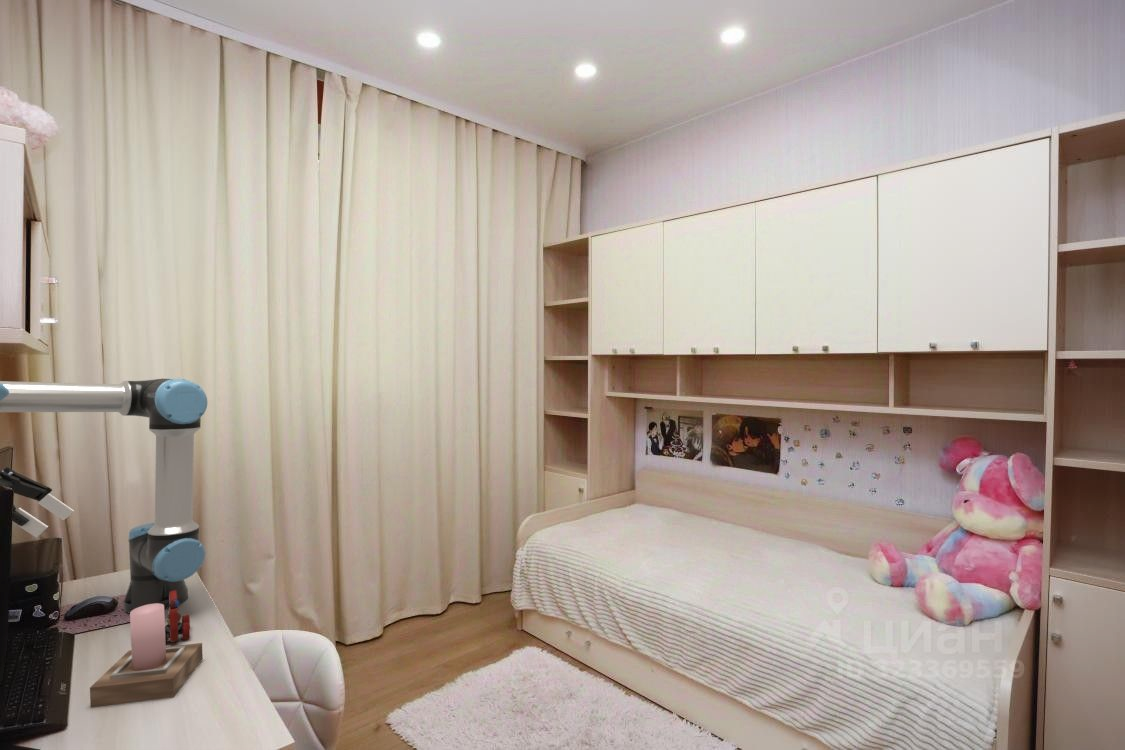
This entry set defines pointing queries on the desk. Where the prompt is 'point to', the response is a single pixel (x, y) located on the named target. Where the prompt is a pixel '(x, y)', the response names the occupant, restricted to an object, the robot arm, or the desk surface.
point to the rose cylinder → (148, 637)
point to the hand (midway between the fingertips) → (56, 523)
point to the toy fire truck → (176, 621)
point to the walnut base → (146, 677)
